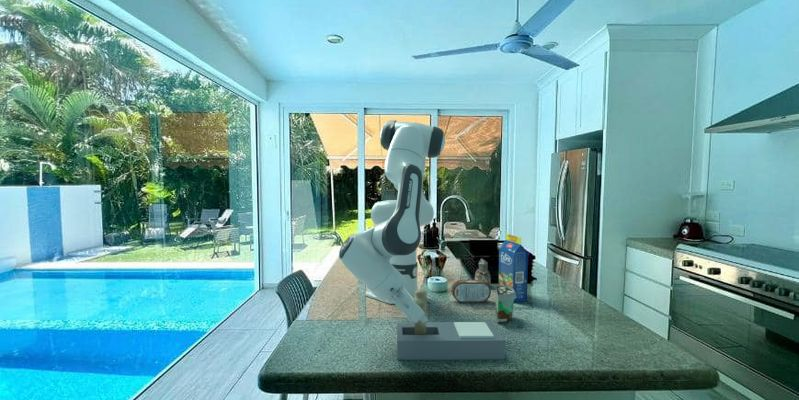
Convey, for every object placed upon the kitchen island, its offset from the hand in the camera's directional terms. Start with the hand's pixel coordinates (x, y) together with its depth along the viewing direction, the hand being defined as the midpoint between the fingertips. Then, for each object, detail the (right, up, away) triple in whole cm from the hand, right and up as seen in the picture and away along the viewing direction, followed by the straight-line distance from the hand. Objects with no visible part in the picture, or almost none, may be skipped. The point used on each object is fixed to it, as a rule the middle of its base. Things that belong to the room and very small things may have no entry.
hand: (422, 316), depth 96 cm
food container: (+30, -8, +22) cm, 38 cm away
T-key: (-1, -9, 0) cm, 9 cm away
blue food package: (+39, -7, +44) cm, 59 cm away
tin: (+21, -7, +39) cm, 45 cm away
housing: (+7, -9, 0) cm, 11 cm away
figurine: (+30, -6, +59) cm, 67 cm away
